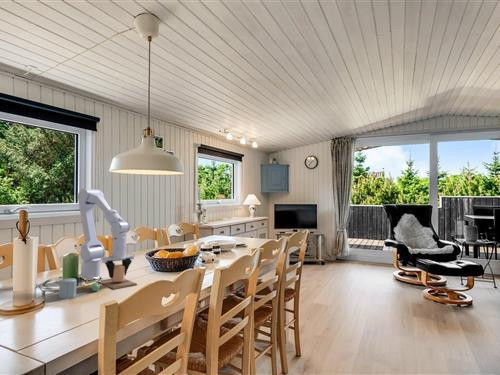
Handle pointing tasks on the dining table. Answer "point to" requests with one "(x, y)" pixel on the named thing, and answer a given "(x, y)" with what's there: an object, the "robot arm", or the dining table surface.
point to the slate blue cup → (67, 288)
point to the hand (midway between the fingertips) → (117, 276)
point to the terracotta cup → (118, 273)
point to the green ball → (95, 287)
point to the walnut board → (117, 284)
